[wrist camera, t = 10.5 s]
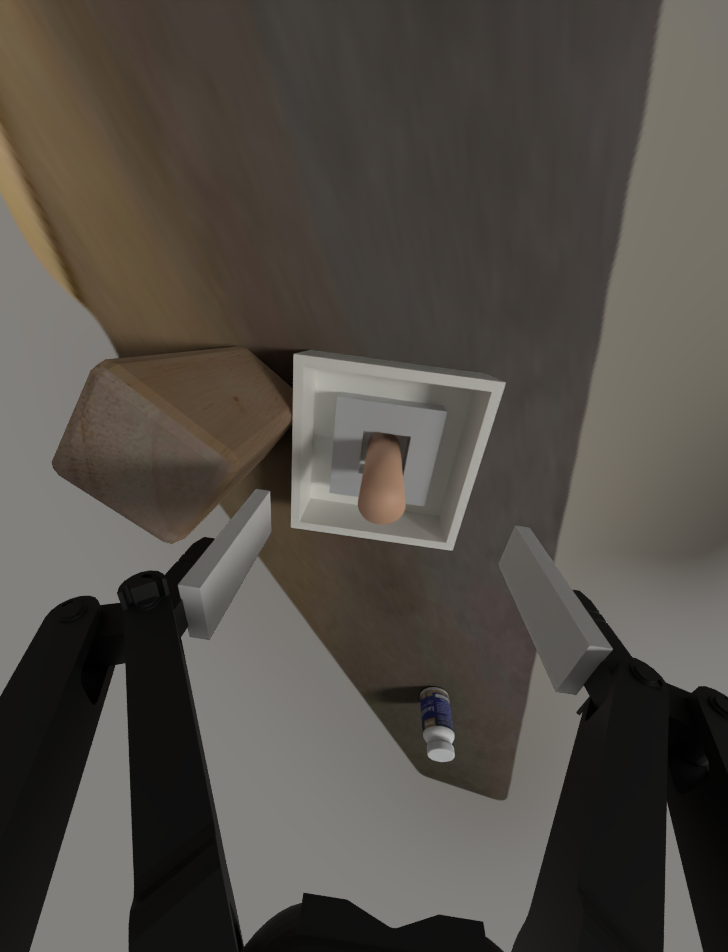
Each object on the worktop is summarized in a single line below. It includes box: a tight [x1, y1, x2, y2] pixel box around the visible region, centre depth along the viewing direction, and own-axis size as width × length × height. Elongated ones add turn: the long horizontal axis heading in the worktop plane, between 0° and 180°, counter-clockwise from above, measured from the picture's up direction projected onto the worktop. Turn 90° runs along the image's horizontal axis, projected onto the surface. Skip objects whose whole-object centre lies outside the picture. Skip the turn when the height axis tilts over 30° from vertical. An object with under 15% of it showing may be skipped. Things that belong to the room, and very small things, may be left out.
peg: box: [358, 432, 406, 525], centre depth 31 cm, size 4×4×14 cm
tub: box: [291, 350, 506, 551], centre depth 36 cm, size 20×20×7 cm
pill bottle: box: [420, 687, 455, 762], centre depth 57 cm, size 6×6×10 cm
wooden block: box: [52, 346, 293, 544], centre depth 29 cm, size 10×10×20 cm
